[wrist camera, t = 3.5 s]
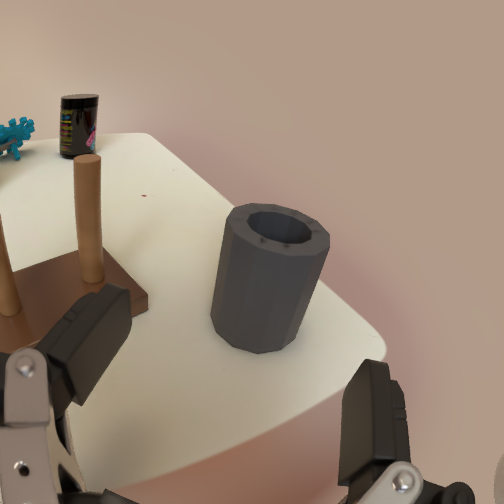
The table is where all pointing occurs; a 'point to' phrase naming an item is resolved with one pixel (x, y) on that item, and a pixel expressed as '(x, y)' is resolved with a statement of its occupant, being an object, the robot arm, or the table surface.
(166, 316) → the table surface
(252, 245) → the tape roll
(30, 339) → the rack
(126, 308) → the robot arm
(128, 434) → the table surface
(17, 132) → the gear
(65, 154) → the supplement container
